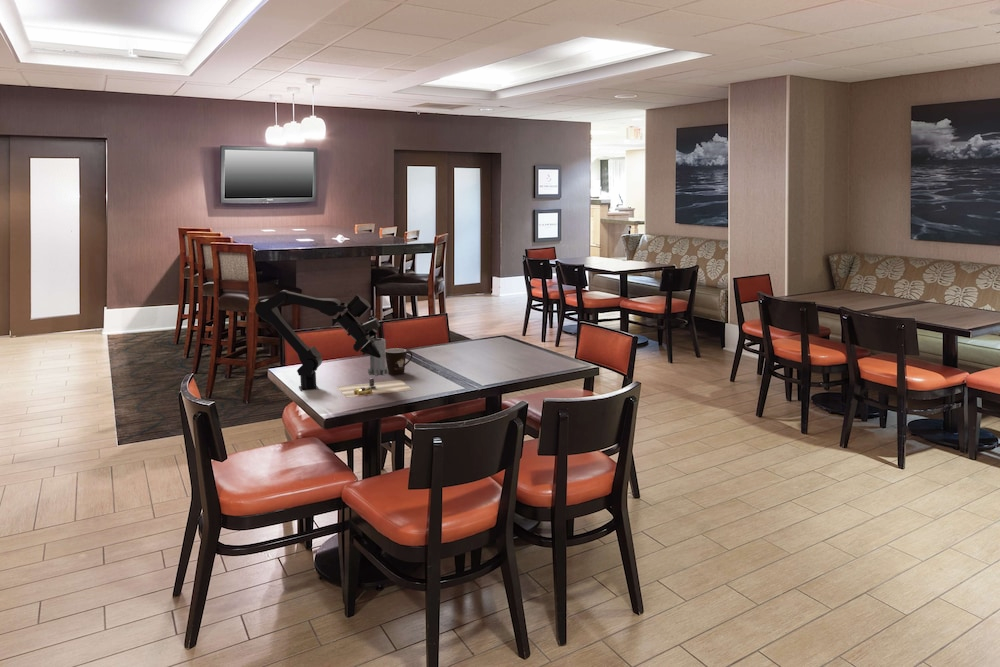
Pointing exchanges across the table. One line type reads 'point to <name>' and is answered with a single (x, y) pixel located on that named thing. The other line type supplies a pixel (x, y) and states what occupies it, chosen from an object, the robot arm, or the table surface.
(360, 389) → the brass gear
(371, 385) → the steel peg
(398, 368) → the coffee mug
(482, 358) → the table surface
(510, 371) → the table surface
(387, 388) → the gear board
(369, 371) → the grey octagonal tube
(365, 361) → the table surface
